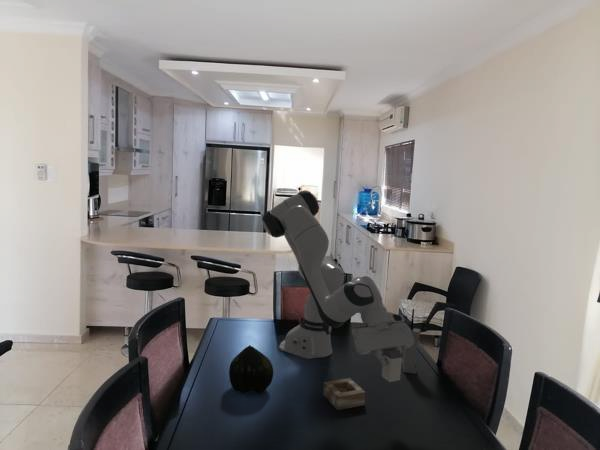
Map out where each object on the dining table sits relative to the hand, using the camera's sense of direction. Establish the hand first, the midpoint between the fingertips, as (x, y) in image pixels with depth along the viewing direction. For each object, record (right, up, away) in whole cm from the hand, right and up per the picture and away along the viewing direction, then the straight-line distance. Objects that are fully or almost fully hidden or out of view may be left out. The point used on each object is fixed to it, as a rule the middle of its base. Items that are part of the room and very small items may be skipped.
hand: (393, 364), depth 131 cm
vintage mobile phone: (+14, -14, +35) cm, 40 cm away
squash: (-46, -13, +15) cm, 50 cm away
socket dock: (-14, -15, +11) cm, 23 cm away
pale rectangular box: (-1, -5, +1) cm, 5 cm away
